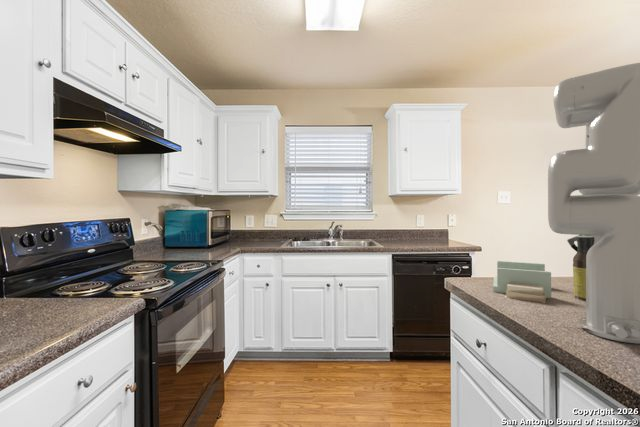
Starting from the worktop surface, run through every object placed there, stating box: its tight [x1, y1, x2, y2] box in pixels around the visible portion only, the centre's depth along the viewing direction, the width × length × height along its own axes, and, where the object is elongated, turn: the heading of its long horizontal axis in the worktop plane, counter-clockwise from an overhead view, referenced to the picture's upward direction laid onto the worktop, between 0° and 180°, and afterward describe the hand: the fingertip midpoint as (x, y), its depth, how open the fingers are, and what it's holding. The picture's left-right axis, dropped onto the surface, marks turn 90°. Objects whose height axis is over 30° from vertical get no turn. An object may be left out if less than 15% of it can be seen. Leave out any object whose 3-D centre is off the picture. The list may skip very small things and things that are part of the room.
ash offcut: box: [507, 282, 544, 296], centre depth 91 cm, size 4×9×2 cm, turn 49°
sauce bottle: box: [572, 235, 595, 302], centre depth 88 cm, size 6×6×20 cm
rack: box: [492, 260, 552, 299], centre depth 100 cm, size 16×15×9 cm
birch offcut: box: [505, 291, 547, 304], centre depth 90 cm, size 5×9×2 cm, turn 49°
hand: (602, 266), depth 95 cm, fingers open, 9 cm apart
